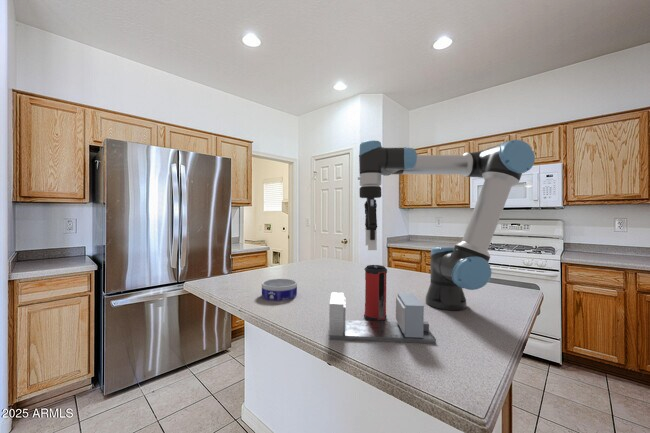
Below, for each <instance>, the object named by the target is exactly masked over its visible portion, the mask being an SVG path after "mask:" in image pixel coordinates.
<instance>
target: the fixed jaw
mask: <svg viewBox="0 0 650 433" xmlns="http://www.w3.org/2000/svg"><path fill="white" fill-rule="evenodd" d="M346 304H347V303H346V296H345V295H344V292H335V291H334V292H331V293H330V299H329V307H328V308H329V312H328V314H329V315H328V316H329V322H328V323H329V324H328V326H329V329H328V334H329V335H339V336H343V331H344V332H345V320H346V310H347V309H346ZM329 335H328V336H329Z"/></svg>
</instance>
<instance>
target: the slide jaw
mask: <svg viewBox="0 0 650 433" xmlns="http://www.w3.org/2000/svg"><path fill="white" fill-rule="evenodd" d="M424 307H425V306H424V305H423V302H421V301H420V299H419V298H418V297H417V296H416V294H415V293H403V292H402V293H400V292H399V293H397V296H396V298H395V320H396V322H398V324H399V326H400V328H401V330H402V332H403V333H404V336H405V337H416V338H423V331H429V330H430V323H429V322H428V321H425V319H424V315H425V311H424V310H425V308H424Z"/></svg>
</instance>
